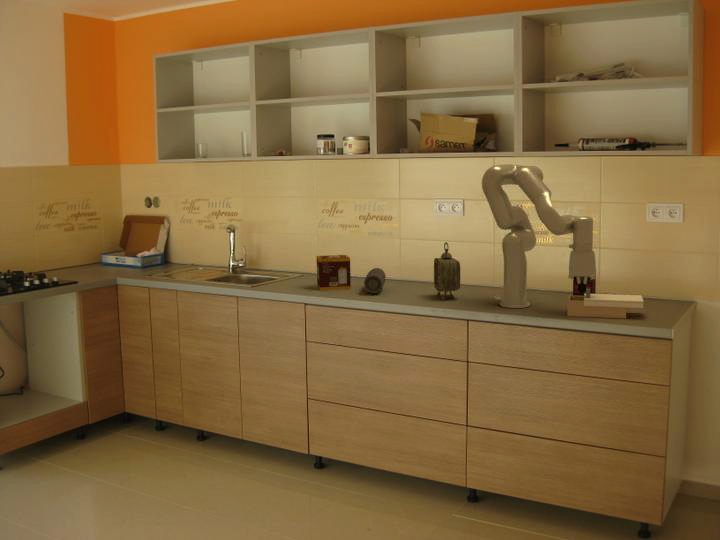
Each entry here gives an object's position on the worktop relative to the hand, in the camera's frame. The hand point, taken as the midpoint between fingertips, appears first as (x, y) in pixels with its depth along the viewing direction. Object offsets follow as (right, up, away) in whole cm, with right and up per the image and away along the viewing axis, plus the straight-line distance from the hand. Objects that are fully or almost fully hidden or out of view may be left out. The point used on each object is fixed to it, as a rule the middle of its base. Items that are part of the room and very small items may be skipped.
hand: (581, 293), depth 317 cm
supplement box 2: (+6, -5, +20) cm, 22 cm away
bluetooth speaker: (-81, -1, +59) cm, 100 cm away
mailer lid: (+12, -4, -3) cm, 12 cm away
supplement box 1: (-101, 0, +69) cm, 122 cm away
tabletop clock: (-49, -3, +39) cm, 63 cm away
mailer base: (+6, -8, 0) cm, 10 cm away
